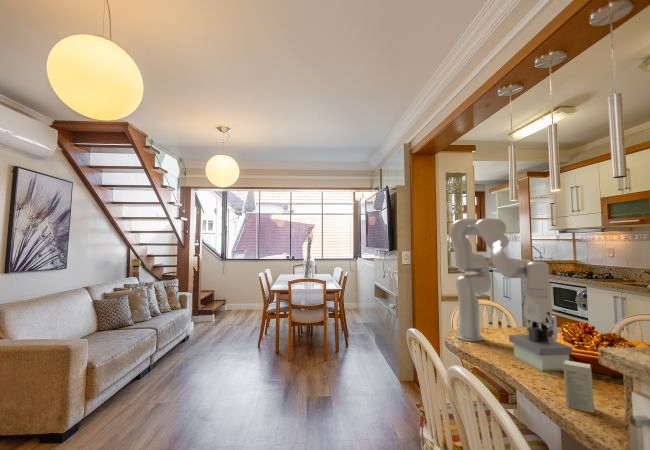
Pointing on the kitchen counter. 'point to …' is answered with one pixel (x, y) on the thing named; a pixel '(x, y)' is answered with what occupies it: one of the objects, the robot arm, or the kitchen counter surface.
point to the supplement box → (554, 327)
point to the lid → (540, 344)
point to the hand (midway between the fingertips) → (538, 338)
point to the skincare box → (578, 386)
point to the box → (540, 359)
